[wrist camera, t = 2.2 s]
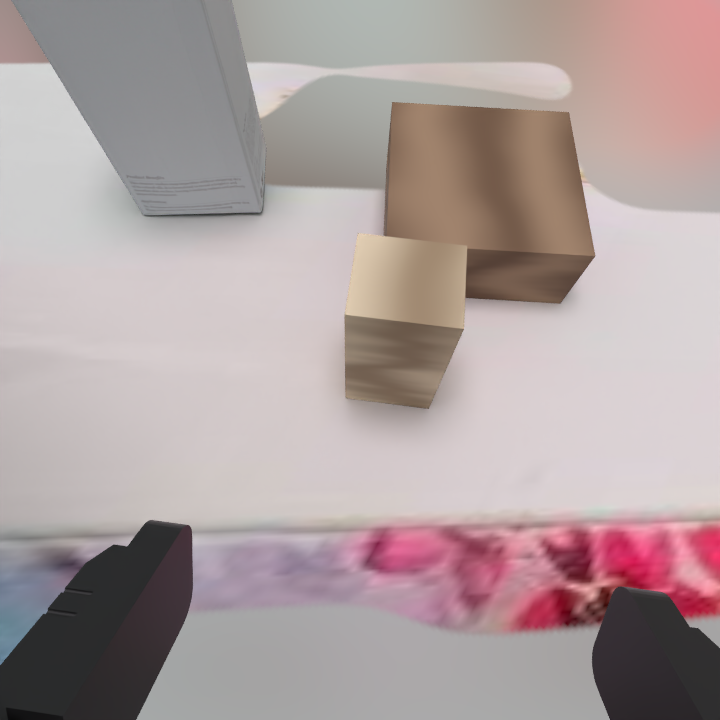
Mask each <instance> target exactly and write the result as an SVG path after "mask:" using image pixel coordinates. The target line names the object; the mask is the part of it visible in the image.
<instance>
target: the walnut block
mask: <svg viewBox="0 0 720 720" xmlns="http://www.w3.org/2000/svg"><path fill="white" fill-rule="evenodd" d="M385 190H386V192H385V214H384V236H387V237H396V238H405V239H413V240H422V241H431V242H439V243H448V244H457V245H465V246H467V264H466V289H465V298H478V299H495V300H511V301H528V302H544V303H561V302H562V300H563V299H564V298H565V296H566V295H567V294H568V292H569V291H570V290H571V288H572V287H573V286H574V284H575V283H576V281H577V280H578V279H579V277H580V276H581V275H582V273H583V272H584V271H585V269H586V268H587V267H588V265H589V264H590V262H591V261H592V260H593V258H594V257H595V252H594V247H593V241H592V236H591V230H590V225H589V220H588V214H587V209H586V203H585V198H584V192H583V187H582V181H581V176H580V170H579V165H578V159H577V154H576V148H575V143H574V137H573V132H572V127H571V121H570V116H569V112H553V111H552V112H551V111H534V110H518V109H500V108H483V107H466V106H449V105H431V104H414V103H397V102H396V103H395V102H392V111H391V123H390V133H389V144H388V155H387V168H386V189H385Z"/></svg>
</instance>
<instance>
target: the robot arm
mask: <svg viewBox="0 0 720 720" xmlns="http://www.w3.org/2000/svg"><path fill="white" fill-rule="evenodd" d="M192 590H193V569H192V530H191V527H190V526H189V525H183V524H176V523H169V522H162V521H154V520H149V521H148V522H146V523H145V524H144V525H143V527H142V528H141V529H140V531H139V532H138V533H137V535H136V536H135V537H134V539H133V540H132V541H131V542H130V544H129V545H128V546H120V545H112V546H111V547H109V548H108V549H106V550H105V551H103V552H102V553H100V554H99V555H97V556H96V557H94V558H93V559H91V560H90V561H88V562H87V563H86V564H85V565H84V566H83V567H82V568H81V570H80V571H79V572H78V573H77V574H76V575H75V577H74V578H73V579H72V580H71V581H70V583H69V584H68V585H67V586H66V587H65V591H64V593H60V595H59V596H58V597H57V598H56V599H55V601H54V602H53V603H52V604H51V605H50V607H49V608H48V611H47V613H46V614H43V615H42V616H41V617H40V619H39V620H38V621H37V622H36V623H35V625H34V626H33V627H32V628H31V629H30V631H29V632H28V633H27V634H26V635H25V637H24V638H23V639H22V640H21V641H20V643H19V644H18V645H17V646H16V647H15V649H14V650H13V651H12V652H11V653H10V654H9V656H8V657H7V658H6V659H5V660H4V662H3V663H2V664H1V665H0V720H136V719H137V716H138V715H139V713H140V711H141V709H142V707H143V705H144V703H145V701H146V699H147V697H148V695H149V693H150V691H151V688H152V686H153V684H154V682H155V680H156V678H157V676H158V674H159V672H160V670H161V668H162V666H163V664H164V662H165V660H166V658H167V656H168V654H169V652H170V650H171V648H172V646H173V644H174V642H175V640H176V638H177V636H178V634H179V632H180V630H181V628H182V626H183V624H184V621H185V619H186V616H187V613H188V610H189V607H190V603H191V598H192ZM592 667H593V674H594V679H595V682H596V685H597V688H598V691H599V693H600V696H601V698H602V701H603V703H604V706H605V708H606V710H607V713H608V716H609V718H610V720H720V648H719V647H718V646H717V645H716V644H715V643H713V642H712V641H711V640H710V639H709V638H708V637H707V636H706V635H705V634H704V633H702V632H701V631H700V630H699V629H698V628H692V627H689V625H688V624H687V622H686V621H685V619H684V618H683V616H682V615H681V613H680V612H679V610H678V609H677V607H676V606H675V604H674V603H673V601H672V600H671V599H670V597H669V596H668V595H666V594H665V593H662V592H657V591H650V590H643V589H636V588H628V587H618V588H616V589H615V590H614V592H613V594H612V596H611V599H610V602H609V605H608V607H607V610H606V613H605V616H604V619H603V621H602V624H601V627H600V630H599V632H598V635H597V638H596V641H595V644H594V647H593V653H592Z"/></svg>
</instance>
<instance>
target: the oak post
mask: <svg viewBox="0 0 720 720" xmlns="http://www.w3.org/2000/svg"><path fill="white" fill-rule="evenodd" d="M466 264H467V246H465V245H457V244H448V243H439V242H431V241H422V240H413V239H405V238H396V237H387V236H379V235H370V234H361V233H358V235H357V241H356V247H355V254H354V260H353V266H352V272H351V278H350V284H349V290H348V297H347V303H346V309H345V392H346V398H349V399H356V400H364V401H372V402H380V403H388V404H396V405H404V406H412V407H419V408H427V409H429V407H430V405H431V402H432V400H433V398H434V396H435V393H436V391H437V389H438V386H439V384H440V382H441V380H442V377H443V375H444V373H445V371H446V368H447V366H448V364H449V362H450V359H451V357H452V355H453V353H454V350H455V348H456V346H457V343H458V341H459V339H460V337H461V334H462V332H463V330H464V314H465V289H466Z"/></svg>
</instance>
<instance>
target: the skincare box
mask: <svg viewBox="0 0 720 720" xmlns="http://www.w3.org/2000/svg"><path fill="white" fill-rule="evenodd" d="M12 2H13V4H14V5H15V7H16V8H17V10H18V12H19V13H20V15H21V17H22V18H23V20H24V21H25V23H26V25H27V26H28V28H29V29H30V31H31V33H32V34H33V36H34V38H35V39H36V41H37V42H38V44H39V46H40V48H41V49H42V51H43V52H44V54H45V56H46V57H47V59H48V60H49V62H50V64H51V65H52V67H53V69H54V70H55V72H56V73H57V75H58V77H59V78H60V80H61V82H62V83H63V85H64V87H65V88H66V90H67V92H68V93H69V95H70V96H71V98H72V100H73V101H74V103H75V105H76V106H77V108H78V110H79V111H80V113H81V114H82V116H83V118H84V119H85V121H86V123H87V124H88V126H89V127H90V129H91V131H92V132H93V134H94V135H95V137H96V139H97V140H98V142H99V144H100V145H101V147H102V148H103V150H104V152H105V153H106V155H107V157H108V158H109V160H110V162H111V163H112V165H113V166H114V168H115V170H116V171H117V173H118V175H119V176H120V178H121V179H122V181H123V183H124V184H125V186H126V187H127V189H128V191H129V192H130V194H131V196H132V197H133V199H134V200H135V202H136V204H137V205H138V207H139V209H140V210H141V212H142V214H143V215H170V214H210V213H245V212H261V211H262V206H263V193H264V178H265V163H266V144H265V140H264V136H263V132H262V127H261V122H260V118H259V114H258V110H257V106H256V101H255V97H254V93H253V89H252V84H251V80H250V76H249V72H248V68H247V64H246V59H245V56H244V51H243V47H242V42H241V38H240V33H239V29H238V25H237V21H236V17H235V13H234V8H233V4H232V0H12Z"/></svg>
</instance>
